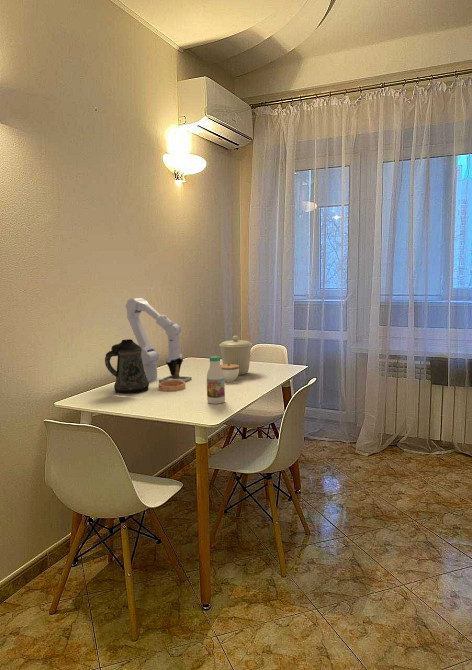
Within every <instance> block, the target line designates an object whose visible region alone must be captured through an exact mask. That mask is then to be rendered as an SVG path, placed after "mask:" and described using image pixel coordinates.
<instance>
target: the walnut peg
mask: <svg viewBox="0 0 472 670" xmlns="http://www.w3.org/2000/svg"><path fill="white" fill-rule="evenodd" d="M170 376H172V379H178V378H179V376H180V372H179V364H176V372H175V375H171V374H170Z"/></svg>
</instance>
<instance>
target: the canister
mask: <svg viewBox="0 0 472 670" xmlns="http://www.w3.org/2000/svg"><path fill="white" fill-rule="evenodd" d="M218 345H219V348H220V354H221V360H222V361H221V362H222V365H223V364H228V363H230V364H237V365H239V374H238V376H242V375H247V374H248V372H249V370H250V362H251V350H252V345H253V343H252V342H250V341H249V340H243V339H242V340H241V339H240V338H239V336H238V335H234V336H232V340H226V341H222V342H221V343H220V344H218Z"/></svg>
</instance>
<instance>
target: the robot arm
mask: <svg viewBox="0 0 472 670" xmlns="http://www.w3.org/2000/svg"><path fill="white" fill-rule="evenodd" d="M125 309H126V316H127V317H126V318H127V320H128V323H129V325H130V327H131V329H132V332H133V335H134V336H135V339H136V342H137V345H139V346H140V347H141V348H142V352H141V357H142V362H143V367H144V371H145V375H146V378H147V380H148V382H155V381H159V380H160V379H162V378H161V377H158V366H157V365H158V360H159V358H160V354H159V352H158V351H157V350H156V348H155V346H153V345H152V344H151V343H150V341H149V339H148V337H147V334H146V331H145V329H144V327H143V324H142V322H141V320H140V315H141V313H142V312H145V313H146V314H148V315H149V316H150V317H151V318H153V319H154V320H155V322H156V323H155V324H157V325H158V326H159V327H161V328H162V329H163V330H164V331H165V334H166V335H167V343H168V356H167V357H166V358H165V364H166V365H167V367H168V369H169V374H170V376H171V375H175V372H176V364H179V373H180V371H181V366H182V363H183V362H184V354H183V353H181V348H180V345H181V344H180V343H181V342H180V341H181V340H180V334H181V332H182V328H181V326H180V324H178V323H175V322H174V321H172V320H170V318H168V316H167V315H166V314H160V313H159V312H158V311H157V310H156V309H155V308H154V307H153V306H152V305H151V304H149V301H147V299H145V298H143V297H137V298H129V299H128V300H127V301H126V304H125Z"/></svg>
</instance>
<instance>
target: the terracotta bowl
mask: <svg viewBox="0 0 472 670" xmlns="http://www.w3.org/2000/svg"><path fill="white" fill-rule="evenodd" d="M184 389H186V382H183V381H165V382H161V383H159V382H158V390H159V391H162V392H176V391H182V390H184Z"/></svg>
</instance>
